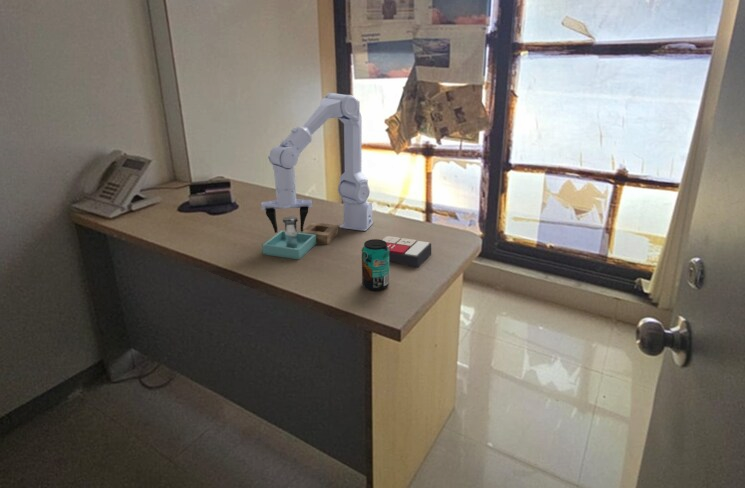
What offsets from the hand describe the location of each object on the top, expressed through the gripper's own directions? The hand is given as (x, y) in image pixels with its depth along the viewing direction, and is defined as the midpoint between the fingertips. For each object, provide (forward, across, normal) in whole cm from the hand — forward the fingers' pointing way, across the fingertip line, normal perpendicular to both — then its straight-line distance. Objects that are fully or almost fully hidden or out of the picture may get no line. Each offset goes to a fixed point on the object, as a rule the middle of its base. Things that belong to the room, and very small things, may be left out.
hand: (289, 230), depth 146 cm
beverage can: (+6, +23, -26) cm, 35 cm away
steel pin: (+5, 0, 0) cm, 5 cm away
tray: (+6, 0, 0) cm, 6 cm away
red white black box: (+7, +33, -9) cm, 35 cm away
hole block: (+6, +9, +8) cm, 13 cm away
